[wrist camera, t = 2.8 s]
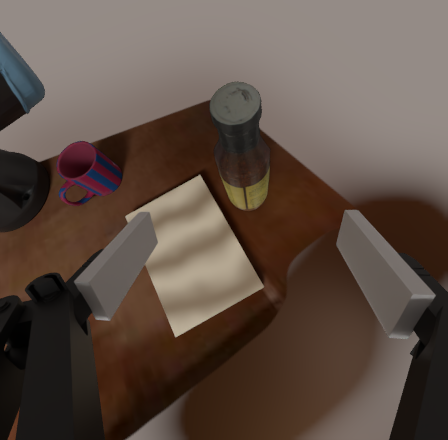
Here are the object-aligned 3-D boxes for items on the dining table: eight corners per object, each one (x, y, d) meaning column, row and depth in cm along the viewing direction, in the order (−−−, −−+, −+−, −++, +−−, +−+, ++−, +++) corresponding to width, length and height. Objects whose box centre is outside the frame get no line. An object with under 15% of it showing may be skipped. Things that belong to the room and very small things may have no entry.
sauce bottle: (266, 177, 36) (285, 64, 16) (266, 213, 34) (286, 134, 15) (227, 177, 36) (202, 69, 17) (225, 212, 35) (195, 137, 16)
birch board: (131, 219, 37) (125, 216, 35) (202, 179, 37) (200, 174, 35) (180, 333, 31) (175, 337, 29) (263, 286, 31) (264, 287, 29)
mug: (129, 171, 39) (104, 150, 33) (97, 217, 38) (65, 206, 31) (102, 157, 41) (73, 135, 34) (71, 201, 39) (34, 187, 33)
